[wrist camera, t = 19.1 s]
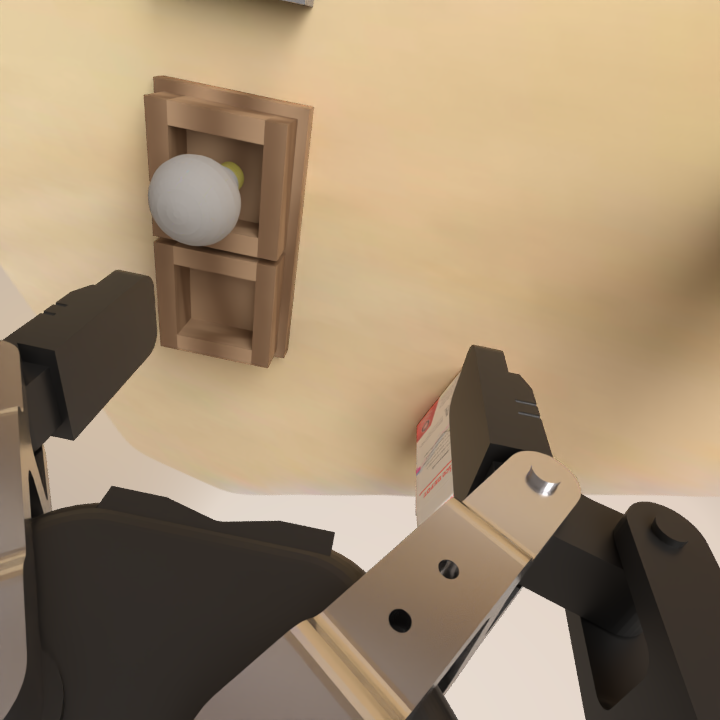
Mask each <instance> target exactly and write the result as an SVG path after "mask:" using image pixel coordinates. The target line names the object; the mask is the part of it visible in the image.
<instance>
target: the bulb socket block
mask: <svg viewBox="0 0 720 720" xmlns="http://www.w3.org/2000/svg"><path fill="white" fill-rule="evenodd" d="M281 1H286V2H291V3H296V4H301V5H305V6H310V7H313V1H314V0H281Z"/></svg>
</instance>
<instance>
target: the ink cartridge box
mask: <svg viewBox="0 0 720 720" xmlns="http://www.w3.org/2000/svg"><path fill="white" fill-rule="evenodd" d="M460 373H461V371H460V372H459V374H458V375H457V376H456V377H455V379H454V380H453V381H452V382H451V384H450V385H449V386H448V387H447V389H446V390H445V391H444V392H443V393H442V395H441V396H440V397H439V399H438V400H437V401H436V402H435V403H434V405H433V406H432V407H431V409H430V410H429V411H428V412H427V414H426V415H425V416H424V417H423V419H422V420H421V421H420V423H419V424H418V425H417V451H416V516H417V527H419V526H420V525H421V524H422V523H423V522H424V521H425V520H426V519H428V518H429V517H430V516H431V515H432V514H433V513H434V512H435V511H437V510H438V509H439V508H440V507H441V506H442V505H443V504H444V503H446V502H447V501H448V500H449V499H451V498H453V497H454V492H453V475H452V459H451V443H450V426H449V410H450V404H451V399H452V396H453V392H454V390H455V387H456V384H457V381H458V378H459V376H460Z"/></svg>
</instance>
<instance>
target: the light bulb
mask: <svg viewBox="0 0 720 720" xmlns="http://www.w3.org/2000/svg"><path fill="white" fill-rule="evenodd" d="M243 183H244V175H243V172H242V170H241V168H240V167H239V166H238V165H237V164H235V163H233V162H224V163H222V164H219V163H218V162H216V161H215V160H213V159H211V158H209V157H206V156H202V155H195V154H183V155H178V156H176V157H173V158H171V159H170V160H168V161H166V162H164V163H163V164H162V165H160V166H159V168H158V169H157V170H156V171H155V173H154V175H153V177H152V179H151V182H150V185H149V190H148V201H149V207H150V211H151V214H152V216H153V218H154V220H155V222H156V223H157V225H158V226H159V227H160V228H161V229H162V231H163V232H165V233H166V234H167V235H168V236H169V237H171V238H172V239H174V240H176V241H178V242H180V243H183V244H187V245H191V246H206V245H212V244H215V243H217V242H219V241H221V240H222V239H223V238H225V237H226V236H227V235H228V234H229V233H230V232H231V231H232V230H233V229H234V227H235V225H236V223H237V221H238V218H239V214H240V210H241V198H240V193H239V189H240V188H241V187H242V185H243Z"/></svg>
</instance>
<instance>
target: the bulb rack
mask: <svg viewBox="0 0 720 720" xmlns="http://www.w3.org/2000/svg"><path fill="white" fill-rule="evenodd" d="M153 80H154V93H152V94H147V95H144V106H145V120H146V135H147V150H148V165H149V180H150V182H151V179H152V177H153V175H154V173H155V171H156V170H157V169H158V168H159V166H160V165H162V164H163V163H164V162H166V161H168V160H170V159H171V158H173V157H176V156H178V155H183V154H195V155H202V156H206V157H209V158H211V159H213V160H215V161H216V162H218V163H219V164H222V163H224V162H233V163H235V164H237V165H238V166H239V167H240V168H241V170H242V172H243V175H244V183H243V185H242V187H241V188H240V189H239V193H240V198H241V210H240V214H239V218H238V221H237V223H236V225H235V227H234V229H233V230H232V231H231V232H230V233H229V234H228V235H227V236H226V237H225V238H223V239H222V240H221V241H219V242H217V243H215V244H212V245H206V246H191V245H187V244H183V243H180V242H178V241H176V240H174V239H172V238H171V237H169V236H168V235H167V234H166V233H165V232H163V231H162V229H161V228H160V227H159V226H158V225H157V223H156V222H155V220H154V218H153V216H152V224H153V236H157V237H160V238H158V239H157V240H156V241H154V253H155V268H156V283H157V298H158V313H159V327H160V342H161V346H164V347H169V348H174V349H179V350H183V351H188V352H193V353H198V354H202V355H207V356H212V357H217V358H222V359H226V360H231V361H236V362H241V363H246V364H250V365H255V366H260V367H265V368H268V367H269V365H270V363H271V361H272V359H273V357H274V356H275V357H280V358H284V357H285V355H286V353H287V350H288V343H289V334H290V325H291V315H292V306H293V297H294V287H295V278H296V269H297V259H298V250H299V241H300V231H301V222H302V213H303V203H304V194H305V185H306V175H307V166H308V157H309V147H310V138H311V128H312V119H313V110H314V107H311V106H306V105H301V104H297V103H292V102H287V101H282V100H278V99H273V98H268V97H263V96H258V95H254V94H249V93H244V92H239V91H235V90H230V89H225V88H220V87H215V86H211V85H206V84H201V83H196V82H192V81H187V80H182V79H177V78H172V77H168V76H156V77H153Z"/></svg>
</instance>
